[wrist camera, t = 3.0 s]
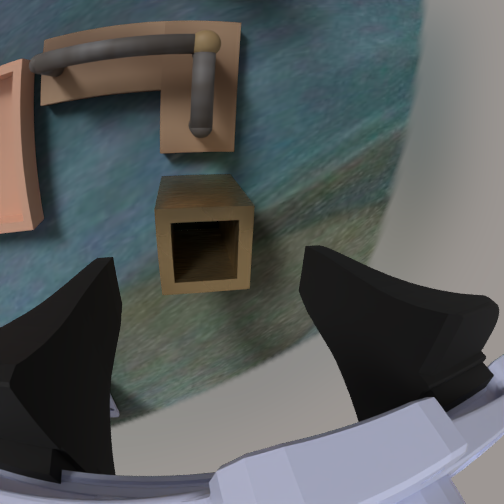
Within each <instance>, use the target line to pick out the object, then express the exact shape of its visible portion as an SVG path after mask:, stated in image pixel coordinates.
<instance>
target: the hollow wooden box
mask: <svg viewBox="0 0 504 504" xmlns="http://www.w3.org/2000/svg"><path fill="white" fill-rule="evenodd" d="M203 221H219V228H207V229H187V230H174V223H183V222H203ZM253 222H254V204H253V203H252V202H251V200H250V199H249V198H248V197H247V195H246V194H245V193H244V191H243V190H242V189H241V188H240V186H239V185H238V184H237V182H236V181H235V180H234V179H233V177H232V176H231V175H230V174H213V175H181V176H162V178H161V182H160V186H159V191H158V196H157V200H156V205H155V224H156V237H157V248H158V259H159V268H160V277H161V286H162V294H163V295H172V294H187V293H201V292H215V291H228V290H240V289H250V273H251V256H252V239H253Z"/></svg>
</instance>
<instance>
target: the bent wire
mask: <svg viewBox="0 0 504 504" xmlns="http://www.w3.org/2000/svg"><path fill="white" fill-rule="evenodd" d="M240 32H241V23H236V22H220V21H160V22H145V23H134V24H124V25H116V26H109V27H103V28H96V29H91V30H85V31H80V32H75V33H71V34H66V35H62V36H58V37H54V38H50V39H47V40H44V49H43V53H41V54H37V55H35V56H34V57H33V58H32V59H31V60H30V63H29V69H30V71H31V72H32V73H35V74H41V106H47V105H52V104H57V103H62V102H68V101H73V100H79V99H85V98H92V97H99V96H107V95H115V94H125V93H136V92H149V91H161V105H160V153H182V152H234V141H235V120H236V100H237V81H238V64H239V48H240Z"/></svg>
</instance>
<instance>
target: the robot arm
mask: <svg viewBox="0 0 504 504" xmlns="http://www.w3.org/2000/svg"><path fill="white" fill-rule="evenodd" d="M299 292H300V295H301V298H302V300H303V303H304V305H305V307H306V310H307V312H308V314H309V315H310V317H311V319H312V320H313V322H314V324H315V326H316V327H317V329H318V331H319V332H320V334H321V336H322V337H323V339H324V340H325V342H326V344H327V346H328V347H329V349H330V351H331V352H332V354H333V356H334V358H335V360H336V362H337V365H338V367H339V369H340V371H341V374H342V376H343V378H344V381H345V384H346V386H347V389H348V391H349V394H350V397H351V400H352V402H353V406H354V408H355V412H356V414H357V418H358V421H359V422H357V423H355V424H352V425H348V426H345V427H342V428H339V429H336V430H332V431H329V432H326V433H322V434H319V435H315V436H311V437H307V438H303V439H299V440H295V441H291V442H286V443H282V444H278V445H275V446H272V447H269V448H265V449H261V450H258V451H254V452H251V453H247V454H244V455H243V456H241V457H238V458H236V459H234V460H232V461H230V462H228V463H226V464H224V465H222V466H221V467H220V468H219V469H218V470H217V471H216V472H213V473H204V474H193V475H176V476H118V475H115V469H114V462H113V453H112V443H111V428H110V417H119V414H120V413H119V410H118V408H117V406H116V404H115V402H114V400H113V398H112V396H111V394H110V384H111V375H112V369H113V363H114V358H115V352H116V347H117V342H118V336H119V331H120V326H121V313H122V301H121V296H120V292H119V287H118V282H117V277H116V271H115V266H114V260H113V257H107V258H97V259H95V260H94V261H92V262H91V263H90V264H89V265H87V266H86V267H85V268H84V269H83V270H82V271H80V272H79V273H78V274H77V275H76V276H75V277H73V278H72V279H71V280H70V281H69V282H68V283H66V284H65V285H64V286H63V287H61V288H60V289H59V290H58V291H56V292H55V293H54V294H53V295H52V296H50V297H49V298H48V299H46V300H45V301H44V302H42V303H41V304H39V305H38V306H36V307H35V308H33V309H32V310H30V311H29V312H27V313H26V314H24V315H22V316H20V317H19V318H17V319H15V320H13V321H12V322H10V323H8V324H6V325H5V326H3V327H0V504H466V503H465V501H464V500H463V498H462V496H461V495H460V493H459V491H458V490H457V488H456V486H455V485H454V483H453V482H452V480H451V478H452V477H453V476H455V475H456V474H457V473H459V472H460V471H461V470H463V469H464V468H465V467H467V466H468V465H469V464H470V463H471V462H473V461H474V460H475V459H477V458H478V457H479V456H480V455H482V454H483V453H484V452H485V451H486V450H487V449H489V448H490V447H491V446H492V445H493V444H494V443H495V442H496V441H498V440H499V439H500V438H501V437H502V436H503V435H504V354H503V355H502V356H500V357H499V358H497V359H496V360H495V361H493V362H492V363H491V364H490V365H489V366H488V367H486V366H485V364H484V363H483V361H484V360H485V359H486V356H485V355H484V354H483V352H482V351H481V350H482V349H483V347H484V345H485V344H486V342H487V340H488V338H489V336H490V335H491V333H492V331H493V329H494V327H495V325H496V323H497V320H498V316H499V307H498V305H497V304H496V303H495V302H494V301H492V300H491V299H490V298H489V297H486V296H483V295H470V294H460V293H453V292H447V291H441V290H436V289H432V288H428V287H424V286H420V285H416V284H413V283H409V282H407V281H404V280H401V279H398V278H395V277H392V276H389V275H387V274H384V273H382V272H380V271H377V270H375V269H373V268H370V267H368V266H366V265H364V264H362V263H360V262H357V261H355V260H353V259H351V258H349V257H347V256H345V255H343V254H341V253H338V252H336V251H334V250H332V249H329V248H327V247H324V246H320V245H318V246H306V247H305V253H304V260H303V267H302V273H301V280H300V286H299Z"/></svg>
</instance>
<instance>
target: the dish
mask: <svg viewBox="0 0 504 504" xmlns="http://www.w3.org/2000/svg"><path fill="white" fill-rule="evenodd" d="M29 63H30V60H27V59H19V60H16V61H13V62H10V63H7V64H5V65H2V66H0V234H1V233H10V232H19V231H28V230H34V229H35V228H36V227H37V226H38V225H39V224H40V223H41V222H42V221H43V220H44V215H43V209H42V203H41V196H40V189H39V182H38V173H37V164H36V152H35V137H34V77H35V73H32V72H31V71H30V69H29Z"/></svg>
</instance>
